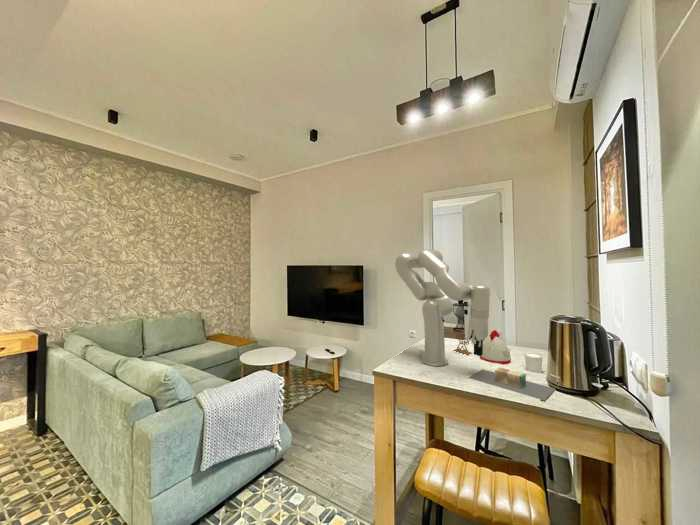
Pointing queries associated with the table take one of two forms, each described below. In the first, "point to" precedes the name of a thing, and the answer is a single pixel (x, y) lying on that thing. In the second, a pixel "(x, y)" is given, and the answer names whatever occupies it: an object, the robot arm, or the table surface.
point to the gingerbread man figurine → (463, 344)
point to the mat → (529, 389)
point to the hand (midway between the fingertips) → (477, 354)
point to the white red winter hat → (495, 350)
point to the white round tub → (533, 362)
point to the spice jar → (510, 377)
